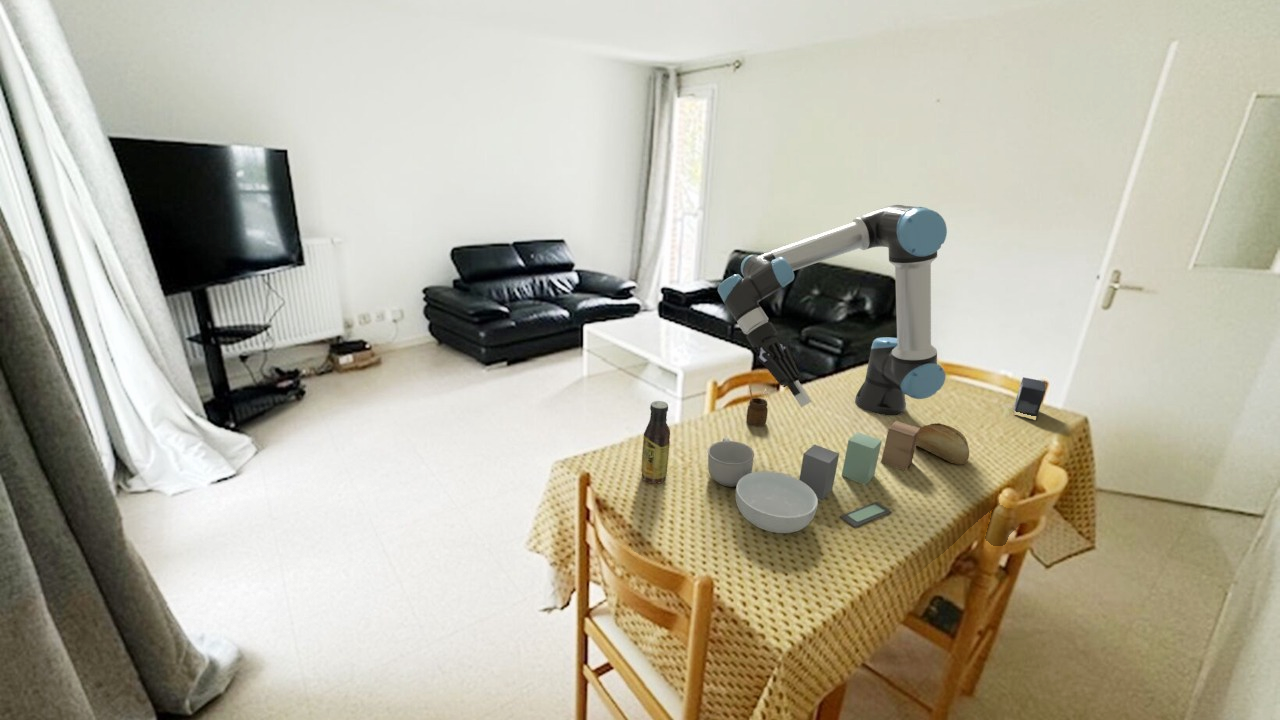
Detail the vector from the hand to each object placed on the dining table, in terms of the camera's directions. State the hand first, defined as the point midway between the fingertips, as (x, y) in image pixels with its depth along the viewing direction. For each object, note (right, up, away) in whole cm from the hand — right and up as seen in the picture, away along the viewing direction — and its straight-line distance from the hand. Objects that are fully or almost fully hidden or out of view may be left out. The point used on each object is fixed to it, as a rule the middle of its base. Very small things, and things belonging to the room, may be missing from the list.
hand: (806, 404), depth 135 cm
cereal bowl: (-14, -23, -22) cm, 35 cm away
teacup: (-21, -17, -7) cm, 28 cm away
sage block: (+12, -18, -4) cm, 21 cm away
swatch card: (+7, -23, -20) cm, 31 cm away
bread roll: (+39, -14, +8) cm, 42 cm away
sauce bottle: (-40, -17, -9) cm, 44 cm away
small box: (+83, -6, +36) cm, 91 cm away
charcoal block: (-2, -20, -11) cm, 23 cm away
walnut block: (+25, -16, +3) cm, 29 cm away
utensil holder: (-8, -7, +22) cm, 25 cm away
